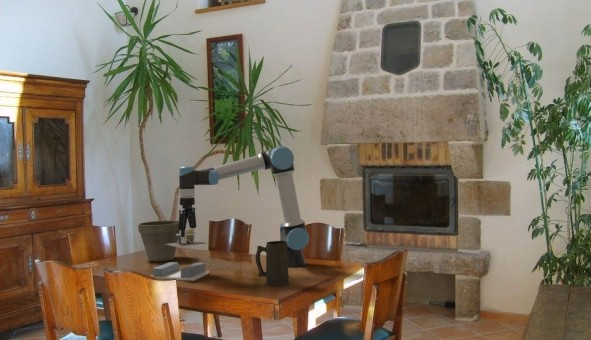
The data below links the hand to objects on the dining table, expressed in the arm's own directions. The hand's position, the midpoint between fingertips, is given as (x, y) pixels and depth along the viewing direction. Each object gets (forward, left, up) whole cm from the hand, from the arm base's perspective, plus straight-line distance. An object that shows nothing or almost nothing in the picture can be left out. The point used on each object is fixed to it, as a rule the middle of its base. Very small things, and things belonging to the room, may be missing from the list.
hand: (187, 242), depth 314 cm
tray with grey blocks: (+4, +3, -17) cm, 17 cm away
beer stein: (-48, +13, -17) cm, 53 cm away
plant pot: (+38, -42, -17) cm, 59 cm away
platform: (0, +1, -1) cm, 1 cm away
